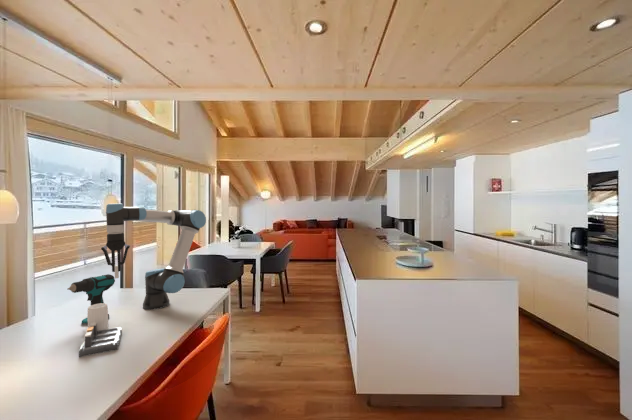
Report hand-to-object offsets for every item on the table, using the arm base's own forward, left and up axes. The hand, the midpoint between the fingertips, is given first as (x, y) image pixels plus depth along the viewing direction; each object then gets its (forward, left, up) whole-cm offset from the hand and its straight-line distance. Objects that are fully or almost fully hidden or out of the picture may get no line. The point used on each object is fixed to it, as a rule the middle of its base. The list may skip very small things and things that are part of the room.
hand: (116, 277), depth 161 cm
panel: (+5, +19, -26) cm, 33 cm away
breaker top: (+9, +26, -24) cm, 36 cm away
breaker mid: (+9, +19, -24) cm, 32 cm away
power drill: (+13, -15, -27) cm, 33 cm away
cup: (+8, +4, -27) cm, 28 cm away
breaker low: (+9, +13, -24) cm, 28 cm away
